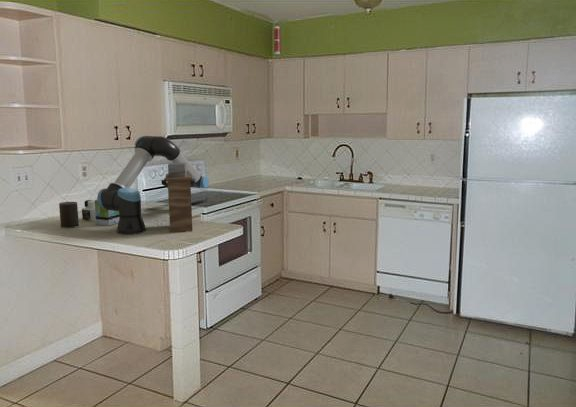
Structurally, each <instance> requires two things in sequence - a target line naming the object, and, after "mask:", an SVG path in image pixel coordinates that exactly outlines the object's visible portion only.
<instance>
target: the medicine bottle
mask: <svg viewBox="0 0 576 407" xmlns="http://www.w3.org/2000/svg"><path fill="white" fill-rule="evenodd" d="M83 203H84V208H81V218H82V221H87V222H93V221H96V217H95V200H94V199H87V200H84V202H83Z"/></svg>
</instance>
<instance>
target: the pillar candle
mask: <svg viewBox="0 0 576 407" xmlns="http://www.w3.org/2000/svg"><path fill="white" fill-rule="evenodd" d="M58 205H59V206H58V207H59V208H58V209H59V221H60V222H59V223H60V228H62V229H63V228H64V229H71V228H77V227H79V226H80V222H79V221H80V220H79V210H78V209H79V208H78V202H77V201H64V202H59V203H58Z"/></svg>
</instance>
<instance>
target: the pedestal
mask: <svg viewBox="0 0 576 407" xmlns="http://www.w3.org/2000/svg"><path fill="white" fill-rule="evenodd" d="M165 178H166V181H168V188H167V194H168V195H167V196H168V197H167V198H168V212H169V214H168V216H169V232H170V233H183V232H186V231H188V232H193V212H192V191H191V190H192V189H191V188H192V187H191V183H190V180H192V175H191V173H187V176H186V177H169V176H168V173H166V174H165Z"/></svg>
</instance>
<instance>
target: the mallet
mask: <svg viewBox="0 0 576 407" xmlns="http://www.w3.org/2000/svg"><path fill="white" fill-rule="evenodd" d="M167 174H168V176H169V177H186V176H187V164H186V163H173V162H169V163H168V164H167Z"/></svg>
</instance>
